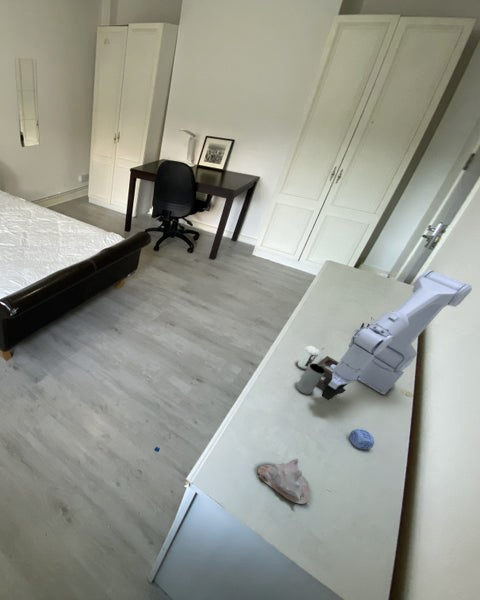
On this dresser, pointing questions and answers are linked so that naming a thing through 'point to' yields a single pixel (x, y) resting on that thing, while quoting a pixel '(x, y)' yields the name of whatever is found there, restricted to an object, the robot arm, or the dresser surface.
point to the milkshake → (308, 356)
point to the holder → (326, 370)
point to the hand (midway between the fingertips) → (330, 392)
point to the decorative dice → (361, 439)
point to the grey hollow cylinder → (310, 378)
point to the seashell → (286, 480)
